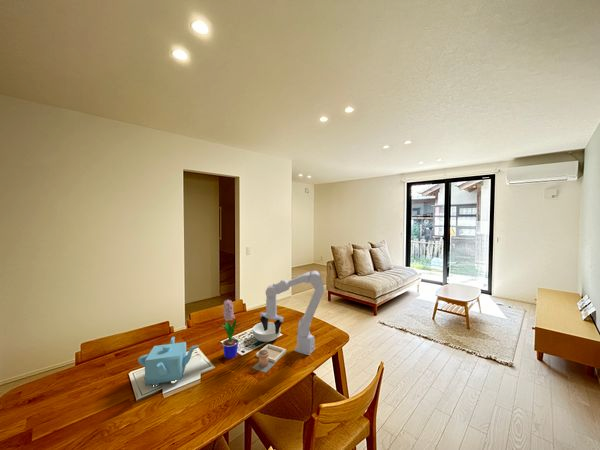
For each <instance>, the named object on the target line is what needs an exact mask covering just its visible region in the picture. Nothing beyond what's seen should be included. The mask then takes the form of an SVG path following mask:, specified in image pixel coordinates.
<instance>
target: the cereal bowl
mask: <svg viewBox="0 0 600 450" xmlns="http://www.w3.org/2000/svg"><path fill="white" fill-rule="evenodd" d="M274 322H275V321H274ZM274 322H273V321H268V329H267V330H266V331H264V327H263V324H262V322H259V323H256V324H255V325H254V326H253V327H252V335H253V338H255V340H257V341H259V342H264V343H267V342H272V341H275V340H276V339H277V338H278V337H279V336H280V334H281V328H280V329H279V333H278V334H276V333H275V324H274Z"/></svg>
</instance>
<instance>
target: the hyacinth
mask: <svg viewBox="0 0 600 450" xmlns="http://www.w3.org/2000/svg"><path fill="white" fill-rule="evenodd" d="M222 305H223V309H222V313H223V319H224V320H225V323H224V324H221V326H222V327H223V329H224V330H225V332H226V334H227V336H228V338H227V339H224V340H223V342H222V347H223V355H224V358H226V359H233V358H235V357H236V356H237V355H238V346H239V339H238V338H235V337H233V335H234V333H235V331H236V330H237V328H239V327H240V326H241V325H242V323H240V324H238V325H237V326H236V324H237V319H236V317H235V314H234V313H235V312H234V310H235V309H234V305H233V301H232V300H230V299H226V300H225V301H223V303H222ZM233 319H235V320H234V321H233V323H232V322H231V321H232V320H233Z"/></svg>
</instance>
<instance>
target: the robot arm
mask: <svg viewBox="0 0 600 450" xmlns="http://www.w3.org/2000/svg"><path fill="white" fill-rule="evenodd" d="M302 283H305V284H308V285H309V283H310V285H311V286H312V287H313V288H314V291H313V294H312V295H311V299H310V300H309V303H308V306H307V307H306V310H305V312H304V313H303V315H302V317H301V318H300V319H299V320H298V323H297V333H296V339H297V340H296V347H295V348H294V349H293V351H294V352H297V353H300V354H304V355H307V356H310V355H311V354H312V353H313V351H315V350H316V344H315V343H316V342H315V341H316V340H315V339H316V337H315V336H314V335H312V334H311V331H310V327H311V325H312V320H313V317H314V316H315V313H316V311H317V309H318V306H319V304H320V301H321V299H322V297H323V295H324V292H325V285H324V283H323V279H322V275H321V274H320V272H319V271H318V270H311V271H307V272H304V273H303V274H300V275H299V276H296V277H294V278H292V279H290V280H287V279H281V280H280V281H279V282H277V283H273V284H270V285H268V286H267V288H266V290H265V295H266V297H265V298H266V300H265V302H266V304H265V308H266V309H265V311H266V312H263V311H262V312H259V317H260V318H259V320H260V323H262V324H263V327H264V331H266V330H267V329H268V322H269V320H274V324H275V333H276V334H278V333H279V329H280V330H281V325H282V323H283V322H284V316H281V315H279V314H277V313H278V310H277V301H278V299H277V295H280V294H282V293H284V292H287V291H289V290H290V287H294V286H297V285H299V284H302Z"/></svg>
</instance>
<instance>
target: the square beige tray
mask: <svg viewBox="0 0 600 450" xmlns="http://www.w3.org/2000/svg"><path fill="white" fill-rule="evenodd" d="M261 350H268V351H269V355H268V361H270V362H273V363H275V364H276V363H277V362H278V361H279V359H281V357H283V356H284V355H285V354H286V353H287V349H286V348H284V347H280V346H277V345H273V344H270V343H267V344H266V345H265V346H263V348H261V349H260V350H259V351H261ZM259 351H257V352H255V356H256V358H259V355H258V353H259Z"/></svg>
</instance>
